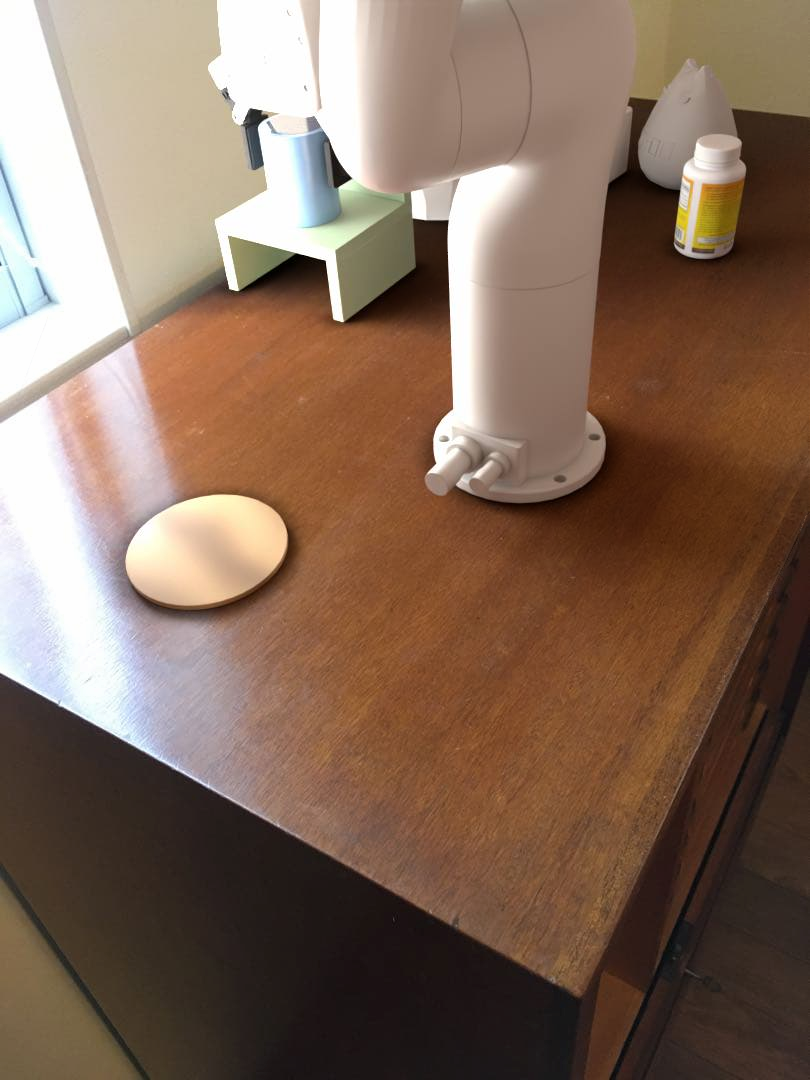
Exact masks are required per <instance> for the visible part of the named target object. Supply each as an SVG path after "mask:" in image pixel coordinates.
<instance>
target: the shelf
mask: <svg viewBox="0 0 810 1080" xmlns="http://www.w3.org/2000/svg"><path fill="white" fill-rule="evenodd" d="M339 191H340V200H341V208H342V210H341V213H340V215H339V216H338V217H337V218H336V219H334V220H332V221H330V222H328V223H326V224H323V225H319V226H315V227H308V228H292V227H286V226H283V225H280V224H278V223H277V222H275V220H274V219H273V216H272V210H271V204H270V197H269V191H268V189H267V190H265V191H263V192H261V193H259V194H258V195H256V196H254V197H252V198H251V199H249V200H247V201H246V202H244V203H242V204H240V205H238V206H237V207H235V208H234V209H232V210H230V211H228V212H226V213H225V214H223V215H221V216H219V217H218V218H216V219H214V223H215V227H216V231H217V234H218V240H219V244H220V248H221V249H220V250H221V253H222V259H223V263H224V268H225V273H226V278H227V281H228V282H227V283H228V287H229V290H233V291H236V292H240V291H242V290H243V289H244V288H245V287H247V286H248V285H250V284H252V283H254V282H255V281H256V280H258V279H260V278H261V277H263V276H264V275H266V274H267V273H268V272H271V270H273V269H274V268H276V267H278V266H279V265H280V264H282V263H283V262H284V263H285V261H287V260H288V259H290V258H291V257H293V256H294V255H296V254H299V255H304V256H308V257H311V258H315V259H318V260H323V261H325V263H326V271H327V279H328V286H329V294H330V302H331V310H332V318H333V320H334V321H336V322H337V321H338V322H341V323H345V322H346V321H347V320H349V319H350V318H352V317H353V316H354V315H356V314H357V313H358V312H359V311H360V310H362V309H363V308H365V307H366V306H367V305H368V304H370V303H371V302H373V301H374V300H375V299H376V298H378V297H379V296H381V294H383V293H384V292H386V291H387V290H388V289H389V288H390V287H391V288H392V286H393V285H395V284H396V283H397V282H398V281H400V280H401V279H403V278H404V277H406V276H407V275H408V274H409V273H410V272H412V271H413V270H414V269H415V268H416V267H417V265H416V250H415V238H414V237H415V235H414V234H415V233H414V218H413V215H412V198H411V192H408V193H400V194H386V193H380V192H376V191H373V190H371V189H368V188H366V187H364V186H362V185H361V184H359V183H358V182H357V181H356V180H354V179H351V180H350V181H348V182H347V183H345V184H343V185H342V186H340V187H339Z"/></svg>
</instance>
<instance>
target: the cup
mask: <svg viewBox="0 0 810 1080" xmlns="http://www.w3.org/2000/svg"><path fill="white" fill-rule="evenodd" d="M258 131H259V137H260V143H261V149H262V155H263V161H264V166H263V167H264V172H265V179H266V184H267V185H266V186H267V190H268V191H269V197H270V204H271V210H272V216H273V219H274V220H275V222H277V223H278V224H280V225H283V226H286V227H292V228H308V227H315V226H319V225H323V224H326V223H328V222H330V221H332V220H334V219H336V218H337V217H338V216H339V215H340V213H341V210H342V208H341V200H340V191H339V188H337V189H336V188H331V187H330V185H329V184H328V176H327V167H326V159H325V150H324V142H325V141H327V140H329V137H328V135H327V134H326V132H325V130H324V129H323V127H322V126H321V124H320V122H319V121H318V119H317V118H316V116H315V115H314V116H311V117H300V116H293V115H288V114H282V113H277V114H276V115H273V116H270V117H269V118H268V119H266V120H264V121H263V122H261V123H260V125H259V127H258Z"/></svg>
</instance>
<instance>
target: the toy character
mask: <svg viewBox="0 0 810 1080" xmlns="http://www.w3.org/2000/svg"><path fill="white" fill-rule="evenodd" d="M718 77H719V76H717V75H716V74H715V72H714V71H713V68H712V65H711V64H706V65H703V66H701V67H700V64H699V62H698V61H697V59H696V58H695V57H692V58H688V59H686V61H685V62H684V64H683V66H682V67H681V69H680V70H679V71H678V73H677V75H676V76H675V77H674V78H673V79H672V80H670V82H669V85H664V87H663V90H662V94H661V95H660V97H659V98H658V100H657V101H656V103H655V105H654V106H653V109H652V110H651V113H650V114H649V116H648V119H647V121H646V122H645V125H644V126H643V127H642V130H641V133H640V136H639V139H638V141H637V142H638V143H637V146H638V147H637V156H638V162H639V166H640V169H641V171H642V173H643V174H644V175H645V177H646V178H647V179H648V180H649V181H650V182H653V183H654V184H656V185H659V186H661V187H663V188H665V189H670V190H675V191H681V184H682V177H683V170H684V166H685V164H686V163H687V162H688V161H689V160H690V159H692V158H694V155H695V154H694V152H695V148H696V142H697V140H698V139H699V138H701V137H703V136H706V135H712V134H724V135H730V136H734V137H736V138H738V131H737V128H736V127H737V126H736V122H735V118H734V113H733V109H732V107H731V103H730V100H729V97H728V95H727V92H726V89H725V87H724V85H723V83H722V82H721V81H720V79H719V78H718Z"/></svg>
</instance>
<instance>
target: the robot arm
mask: <svg viewBox="0 0 810 1080" xmlns="http://www.w3.org/2000/svg"><path fill="white" fill-rule="evenodd" d="M217 13H218V14H217V15H218V28H219V38H220V39H219V40H220V47H221V48H220V49H221V55H220V56H218V57H217V58H215V60H213V61H212V62H211V63H210V64H209V65H208V71H209V73H210V75H211V77H212V78H213V80H214V82H215V84H216V86H217V87H218V89H220V95H221V98H222V99H223V101H224V102H225V103H226V105H227V106H228V107H229V109H230V110H231V111H232V118H233V120H234V122H235V123H236V124H238V125H240V130H241V137H242V142H243V143H242V144H243V148H244V154H245V160H246V166H247V168H248V169H249V170H251V171H258V169H260V168H262V167H264V161H263V155H262V149H261V143H260V137H259V131H258V127H259V125H260V123H261V122H263V121H264V120H266V119H268V118H270V117H269V114H267V113H263V111H266V112H271V113H277V114H288V115H293V116H300V117H311V116H314V115H315V116H316V118H317V119H318V121H319V122H320V124H321V126H322V127H323V129H324V130H325V132H326V134H327V135H328V137H329V140H327V141H325V142H324V150H325V159H326V167H327V176H328V184H329V185H330V187H331V188H336V189H337V188H339V187H340V186H342V185H343V184H345V183H347V182H348V181H350V180H351V179H354V180H356V181H357V182H358V183H359V184H361V185H362V186H364V187H366V188H368V189H371V190H373V191H376V192H380V193H386V194H400V193H408V192H413V191H417V190H421V189H425V188H428V187H432V186H436V185H439V184H442V183H445V182H449V181H452V180H455V179H458V178H461V179H460V181H459V184H458V187H457V190H456V193H455V196H454V200H453V204H452V209H451V213H450V219H449V220H448V227H447V229H448V230H447V252H448V253H447V255H448V258H447V259H448V283H449V285H448V286H449V309H450V312H449V313H450V336H451V337H450V340H451V341H450V342H451V370H452V397H453V398H452V400H453V401H452V403H453V409H451V410H450V411H449V412H448V413H447V414H445V416H444V417H443V418H442V419H441V421H440V423H439V424H438V425H437V427H436V429H435V432H434V436H433V454H434V460H435V463H436V464H435V465H434V466H433V467H432V468H431V469H430V470H429V471H428V472H427V473H426V474H425V475H424V484H425V486H426V487H427V489H428V490H429V491H430V492H431V494H434V495H435V496H438V497H445V496H446V495H448V493H450V491H451V490H452V489H453V488H454V487H455V486H456V487H457V488H459V489H461V490H462V491H464V492H466V493H468V494H471V495H473V496H477V497H480V498H483V499H485V500H490V501H494V502H500V503H510V504H528V503H540V502H545V501H550V500H555V499H558V498H560V497H563V496H566V495H569V494H571V493H573V492H575V491H577V490H578V489H581V488H583V487H584V486H585V485H587V484H588V483H589V482H590V481H591V480H592V479H594V477H596V475H597V474H598V473H599V471H600V470H601V468H602V465H603V463H604V460H605V455H606V454H605V453H606V447H607V445H606V443H607V442H606V435H605V432H604V429H603V426H602V425H601V423H600V422H599V421H598V419H597V418H596V417H595V416H594V415H593V414H592V413H590V411H589V410H588V402H589V390H590V389H589V388H590V377H591V365H592V353H593V342H594V331H595V329H594V328H595V319H596V306H597V294H598V284H599V273H600V271H599V270H600V258H601V253H602V240H603V229H604V218H605V210H606V202H607V194H608V189H609V184H608V182H609V176H610V171H611V166H612V161H613V156H614V152H615V148H616V144H617V140H618V137H619V134H620V130H621V127H622V123H623V120H624V116H625V113H626V109H627V106H628V105H629V101H630V97H631V94H632V90H633V84H634V79H635V73H636V66H637V56H638V55H637V54H638V41H637V40H638V39H637V38H638V37H637V28H636V22H635V18H634V17H635V16H634V13H633V10H632V7H631V4H630V2H629V0H217Z"/></svg>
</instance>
